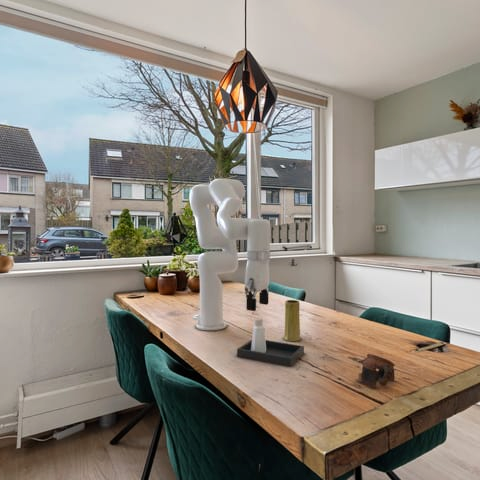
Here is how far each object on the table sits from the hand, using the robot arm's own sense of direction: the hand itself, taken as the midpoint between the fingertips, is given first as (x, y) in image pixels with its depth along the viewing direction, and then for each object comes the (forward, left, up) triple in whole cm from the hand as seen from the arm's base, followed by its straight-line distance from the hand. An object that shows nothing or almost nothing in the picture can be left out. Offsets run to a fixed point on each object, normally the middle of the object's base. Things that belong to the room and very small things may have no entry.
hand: (257, 307), depth 121 cm
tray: (+5, 0, -15) cm, 16 cm away
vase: (+5, +19, -16) cm, 25 cm away
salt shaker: (+1, 0, -15) cm, 15 cm away
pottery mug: (+39, -6, -16) cm, 43 cm away
